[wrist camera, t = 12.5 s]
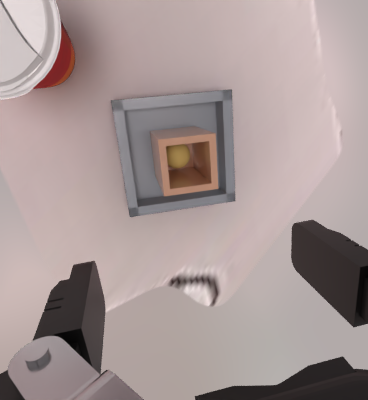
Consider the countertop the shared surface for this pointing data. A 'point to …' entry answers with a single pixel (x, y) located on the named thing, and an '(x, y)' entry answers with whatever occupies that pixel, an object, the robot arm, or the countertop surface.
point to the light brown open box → (197, 165)
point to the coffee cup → (32, 47)
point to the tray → (167, 119)
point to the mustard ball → (177, 155)
